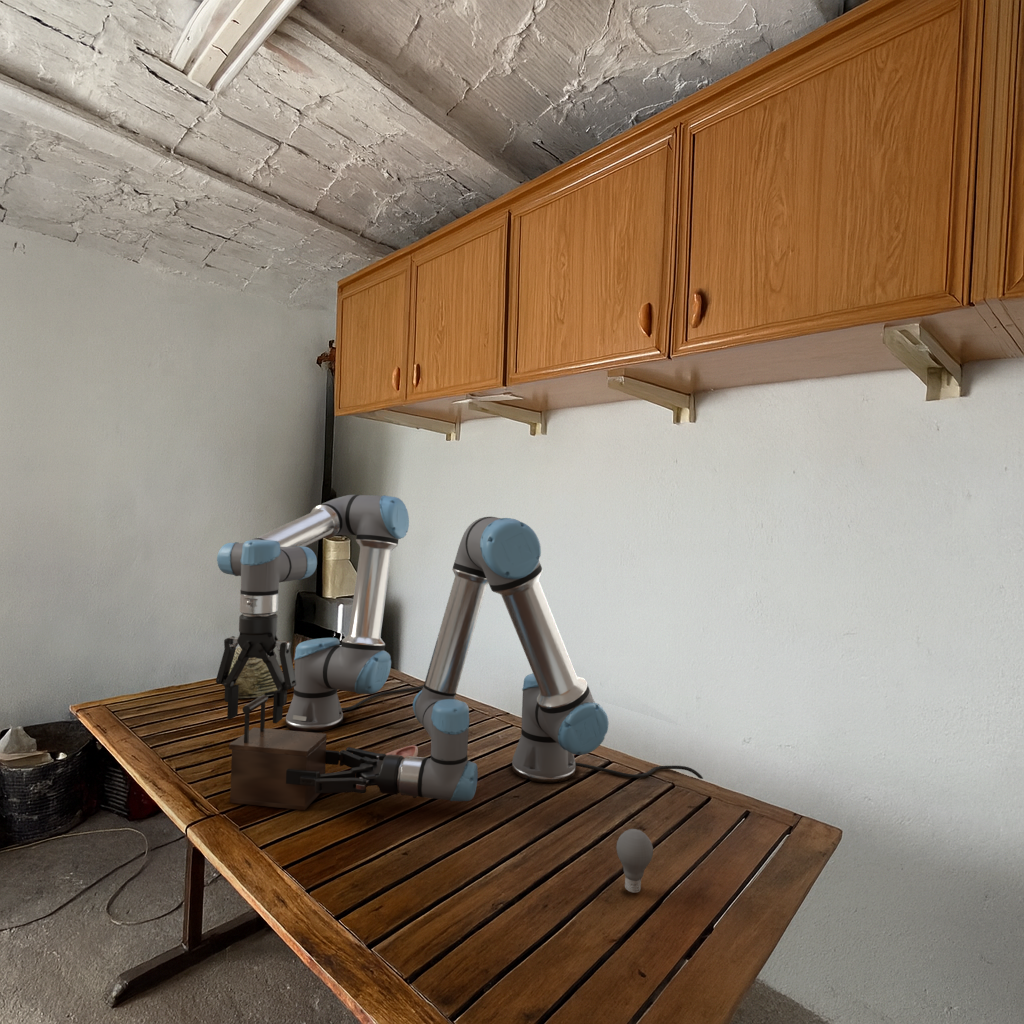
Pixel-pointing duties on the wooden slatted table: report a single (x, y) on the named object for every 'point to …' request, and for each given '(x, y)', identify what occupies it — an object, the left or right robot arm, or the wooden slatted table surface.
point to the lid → (274, 736)
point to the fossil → (253, 678)
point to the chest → (273, 778)
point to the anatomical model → (405, 751)
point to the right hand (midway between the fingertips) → (298, 765)
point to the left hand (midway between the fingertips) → (254, 718)
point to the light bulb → (634, 857)
